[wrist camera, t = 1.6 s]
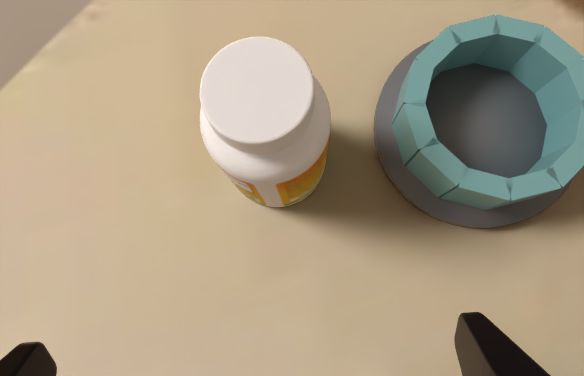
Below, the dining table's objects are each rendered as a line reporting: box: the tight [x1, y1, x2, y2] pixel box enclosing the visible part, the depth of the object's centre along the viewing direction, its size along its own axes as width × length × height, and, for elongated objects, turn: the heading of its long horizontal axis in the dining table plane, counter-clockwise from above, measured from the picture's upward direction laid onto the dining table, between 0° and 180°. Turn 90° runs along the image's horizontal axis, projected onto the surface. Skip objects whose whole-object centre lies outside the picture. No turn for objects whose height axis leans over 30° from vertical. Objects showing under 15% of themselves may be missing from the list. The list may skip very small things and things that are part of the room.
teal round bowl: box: [374, 15, 584, 228], centre depth 22 cm, size 11×11×4 cm
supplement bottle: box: [200, 37, 331, 207], centre depth 19 cm, size 5×5×10 cm
